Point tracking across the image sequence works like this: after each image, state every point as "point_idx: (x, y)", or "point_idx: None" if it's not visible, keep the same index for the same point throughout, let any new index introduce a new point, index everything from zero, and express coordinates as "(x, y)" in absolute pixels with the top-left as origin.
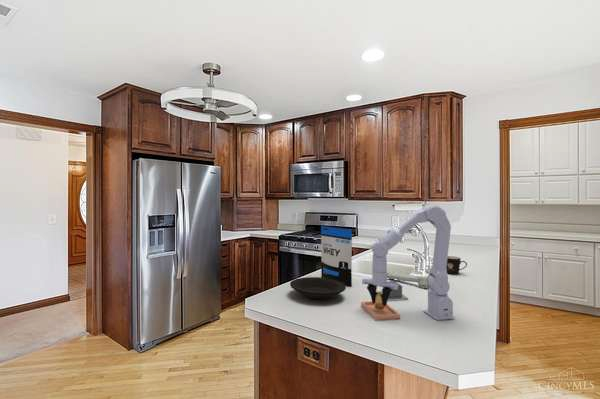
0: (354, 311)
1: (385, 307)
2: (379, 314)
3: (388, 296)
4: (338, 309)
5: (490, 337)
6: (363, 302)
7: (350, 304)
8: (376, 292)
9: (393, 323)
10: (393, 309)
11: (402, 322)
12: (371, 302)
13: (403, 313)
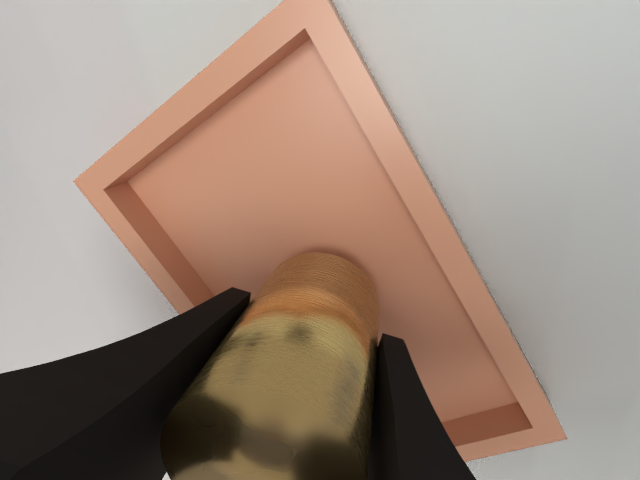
0: (125, 323)
1: (379, 161)
2: None
3: (445, 446)
4: (10, 315)
5: None
6: (103, 190)
7: (9, 161)
8: (187, 451)
9: (475, 477)
10: (494, 317)
11: (561, 453)
12: (179, 129)
13: (619, 236)
